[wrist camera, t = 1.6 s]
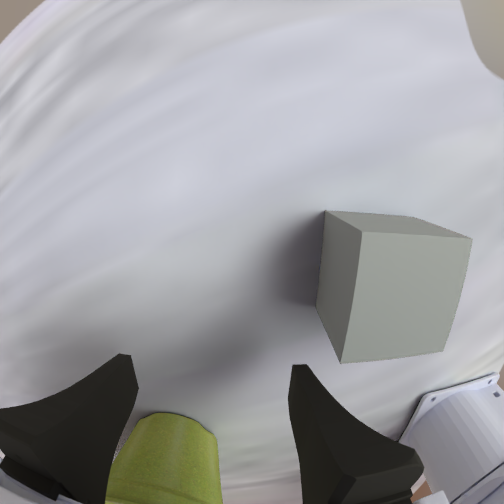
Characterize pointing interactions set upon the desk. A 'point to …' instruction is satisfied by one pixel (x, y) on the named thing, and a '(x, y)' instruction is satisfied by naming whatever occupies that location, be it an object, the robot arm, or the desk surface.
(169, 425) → the plant pot
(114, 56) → the desk surface
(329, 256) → the slate block
